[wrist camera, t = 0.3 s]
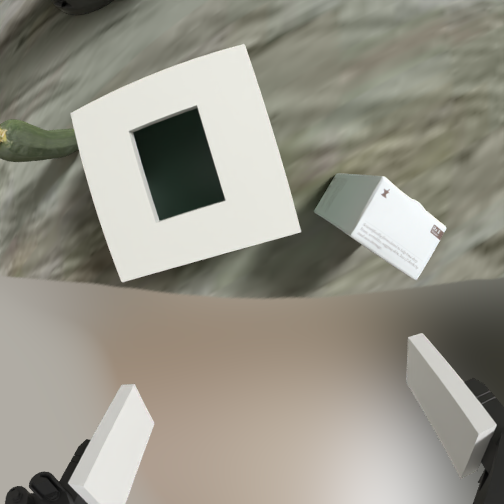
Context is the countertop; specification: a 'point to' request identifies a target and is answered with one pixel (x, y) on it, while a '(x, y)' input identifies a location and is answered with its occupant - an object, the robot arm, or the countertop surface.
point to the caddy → (184, 165)
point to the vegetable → (34, 142)
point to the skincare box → (382, 220)
